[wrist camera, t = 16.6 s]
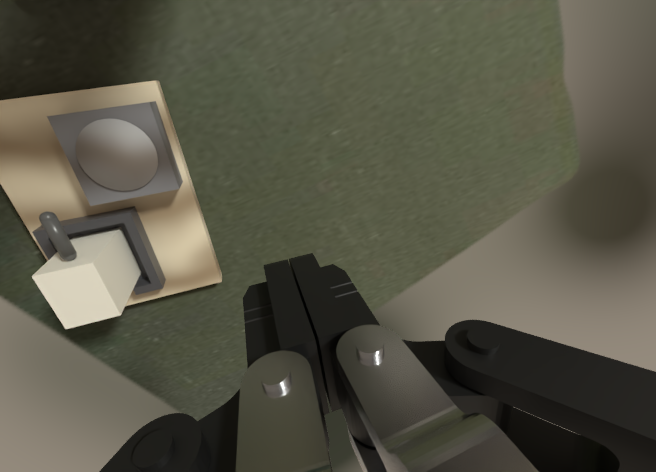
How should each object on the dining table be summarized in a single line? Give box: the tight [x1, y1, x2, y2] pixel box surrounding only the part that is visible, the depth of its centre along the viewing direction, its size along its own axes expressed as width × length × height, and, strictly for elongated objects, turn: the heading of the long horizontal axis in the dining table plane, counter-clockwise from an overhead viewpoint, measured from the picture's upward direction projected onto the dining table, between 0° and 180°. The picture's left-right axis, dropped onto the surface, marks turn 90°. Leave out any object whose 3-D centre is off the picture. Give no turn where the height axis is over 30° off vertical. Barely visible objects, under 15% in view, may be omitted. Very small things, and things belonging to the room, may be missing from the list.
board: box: [0, 81, 222, 306], centre depth 29 cm, size 20×14×4 cm
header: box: [32, 206, 166, 295], centre depth 30 cm, size 8×8×2 cm
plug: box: [32, 211, 141, 329], centre depth 27 cm, size 10×4×7 cm, turn 8°
